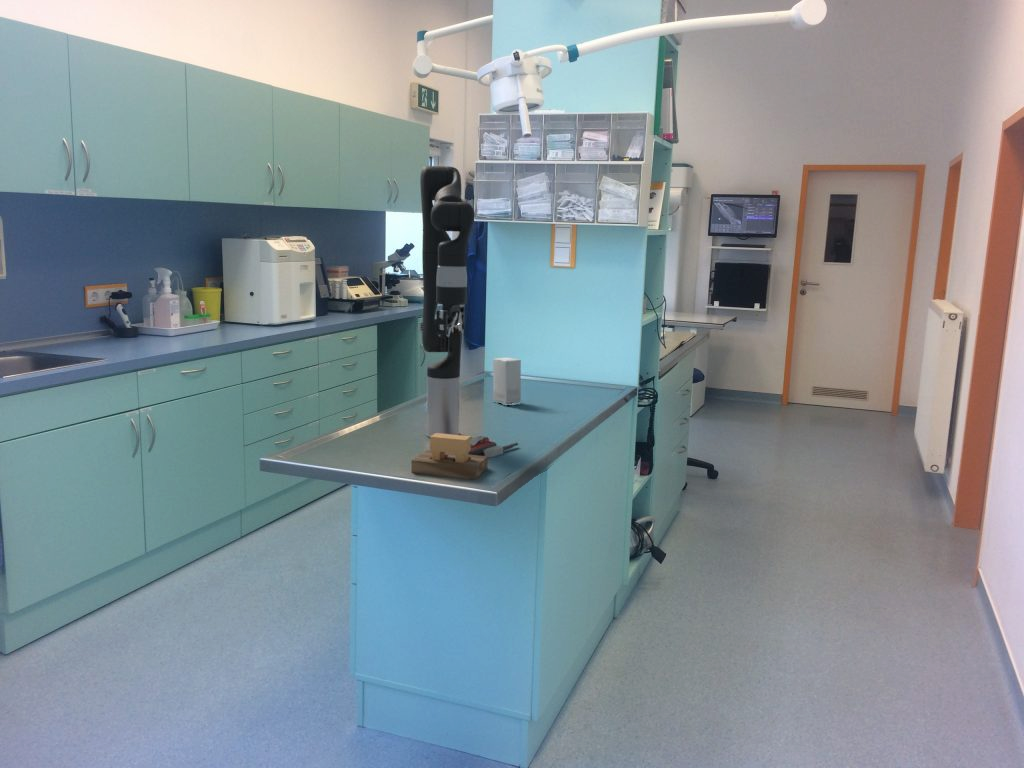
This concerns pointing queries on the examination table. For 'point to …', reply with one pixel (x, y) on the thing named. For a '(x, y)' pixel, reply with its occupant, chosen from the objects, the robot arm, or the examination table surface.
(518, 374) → the skincare box
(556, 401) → the examination table surface
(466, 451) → the tan arch block
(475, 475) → the wooden socket block
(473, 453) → the red grey pronged tool
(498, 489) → the examination table surface
